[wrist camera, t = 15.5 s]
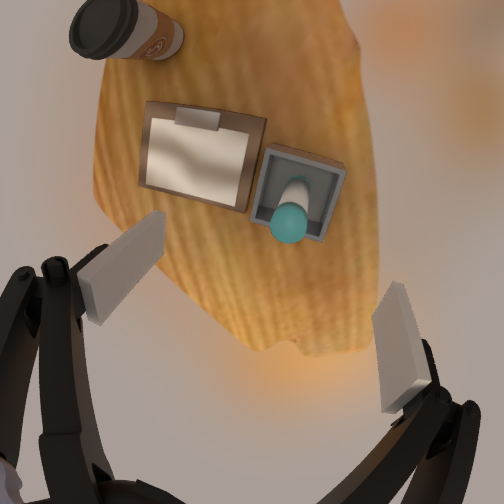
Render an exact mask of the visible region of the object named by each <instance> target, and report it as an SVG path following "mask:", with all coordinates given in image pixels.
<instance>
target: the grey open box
mask: <svg viewBox="0 0 504 504" xmlns="http://www.w3.org/2000/svg"><path fill="white" fill-rule="evenodd" d="M346 172H347V171H346V169H345V167H344V165H343V163H341V162H338V161H335V160H332V159H328V158H325V157H322V156H319V155H315V154H312V153H309V152H305V151H302V150H298V149H294V148H291V147H287V146H283V145H279V144H275V143H272V144H270V145H269V146H268V147H266V149H265V153H264V158H263V162H262V167H261V171H260V175H259V180H258V184H257V189H256V193H255V198H254V202H253V207H252V211H251V216H250V220H249V221H250V222H254V223H257V224H261V225H264V226H267V227H270V221H271V218H272V216H273V214H274V211H275V209H276V208H277V207H278V205H279V202H280V200H281V197H282V195H283V192H284V190H285V188H286V184H287V182H288V180H289V179H290V178H291V177H292V176H295V175H301V176H304V177H306V178H307V179H308V181H309V182H310V186H311V188H310V194H309V203H308V212H307V216H308V221H307V230H306V233H305V235H304V237H305V238H308V239H311V240H315V241H318V242H321V243H322V242H323V239H324V237H325V234H326V231H327V228H328V226H329V223H330V220H331V217H332V214H333V211H334V208H335V205H336V202H337V199H338V196H339V193H340V190H341V187H342V184H343V181H344V178H345V175H346Z"/></svg>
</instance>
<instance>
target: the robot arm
mask: <svg viewBox="0 0 504 504" xmlns="http://www.w3.org/2000/svg"><path fill="white" fill-rule="evenodd" d="M165 222H166V213H164V212H160V211H156V210H154V211H152V212H151V213H150V214H148V215H147V216H146V217H144V218H143V219H142V220H141V221H139V222H138V223H137V224H135V225H134V226H133V227H131V228H130V229H129V230H128V231H126V232H125V233H124V234H123V235H121V236H120V237H119V238H118V239H116V240H115V241H114V242H113V243H112V244H110V245H108V244H103V245H101V246H98V247H96V248H95V249H94V250H92V251H91V252H90V254H87V255H86V256H85V257H84V258H83V259H81V260H80V261H79V262H78V263H77V264H76V265H74V266H73V267H72V268H71V269H70V270H69V265H68V261H67V259H66V258H64V257H61V256H55V257H51V258H49V259H47V260H45V261H44V262H43V263H42V265H41V270H42V273H43V277H37V276H36V274H35V271H34V269H33V268H32V267H29V266H23V267H20V268H19V269H17V270H16V271H15V272H14V273H13V275H12V276H11V278H10V280H9V282H8V283H7V285H6V287H5V289H4V291H3V293H2V295H1V297H0V504H185V503H184V502H182V501H181V500H179V499H177V498H176V497H174V496H173V495H171V494H170V493H168V492H166V491H164V490H162V489H159V488H157V487H154V486H152V485H149V484H147V483H145V482H143V481H140V480H138V479H137V481H136V482H135V481H128V480H115V478H114V475H113V472H112V470H111V467H110V464H109V462H108V460H107V458H106V456H105V454H104V451H103V447H102V444H101V440H100V436H99V432H98V428H97V424H96V420H95V414H94V410H93V404H92V399H91V393H90V388H89V381H88V375H87V367H86V358H85V348H84V337H83V322H82V318H81V316H82V315H83V314H84V312H85V311H86V314H87V317H88V320H89V321H91V322H93V323H95V324H97V325H99V326H101V325H102V324H103V323H104V321H105V320H106V319H107V318H108V317H109V315H110V314H111V313H112V312H113V311H114V309H115V308H116V307H117V306H118V305H119V304H120V303H121V301H122V300H123V299H124V298H125V297H126V296H127V294H128V293H129V292H130V291H131V290H132V289H133V288H134V286H135V285H136V284H137V283H138V282H139V281H140V279H141V278H142V277H143V276H144V275H145V274H146V273H147V272H148V270H150V269H151V267H152V266H153V265H154V264H155V263H156V262H157V261H158V260H159V259H160V258H161V257H162V255H163V254H164V240H165ZM372 322H373V328H374V336H375V343H376V351H377V359H378V370H379V380H380V392H381V408H382V413H390V414H396V413H397V412H398V411H399V410H400V409H402V408H403V415H402V416H401V417H400V418H398V419H397V420H396V421H395V422H393V423H392V424H391V426H392V428H391V429H390V430H389V431H388V433H387V434H386V435H385V436H384V437H383V439H382V440H381V441H380V442H379V443H378V444H377V445H376V447H375V448H374V449H373V450H372V451H371V452H370V453H369V454H368V455H367V457H366V458H365V459H364V460H363V461H362V462H361V463H360V464H359V465H358V466H357V467H356V468H355V469H354V470H353V471H352V472H351V473H350V474H349V475H348V476H347V477H346V478H345V479H344V480H343V481H342V482H341V483H340V484H338V485H337V486H336V487H335V488H334V489H333V490H332V491H331V492H330V493H329V494H327V495H326V496H325V497H324V498H323V499H321V500H320V501H319V502H318V503H317V504H389V502H390V501H391V500H392V499H393V497H394V496H395V495H396V494H397V492H398V491H399V490H400V489H401V487H402V486H403V485H404V483H405V482H406V481H407V479H408V478H409V476H410V475H411V474H412V472H413V471H414V469H415V468H416V466H417V468H416V470H415V473H414V475H413V478H412V480H411V482H410V485H409V487H408V489H407V491H406V493H405V495H404V497H403V500H402V502H401V504H462V502H463V499H464V496H465V493H466V489H467V486H468V482H469V478H470V474H471V471H472V466H473V462H474V457H475V452H476V447H477V441H478V435H479V428H480V420H481V411H480V408H479V406H478V405H477V404H476V403H475V402H474V401H472V400H467V402H465V403H464V404H463V405H459V404H457V403H455V402H453V401H452V398H451V395H450V393H449V392H448V390H447V389H445V388H444V387H442V386H440V382H439V377H438V373H437V370H436V365H435V364H434V363H435V362H434V358H433V354H432V351H431V347H430V346H429V344H428V343H427V341H426V340H425V339H421V337H420V333H419V330H418V326H417V323H416V320H415V317H414V313H413V311H412V307H411V304H410V301H409V298H408V295H407V292H406V289H405V287H404V284H401V283H397V282H394V281H393V282H392V283H391V285H390V287H389V289H388V290H387V292H386V294H385V295H384V297H383V299H382V301H381V302H380V304H379V306H378V307H377V309H376V310H375V312H374V314H373V315H372ZM38 347H39V385H40V386H39V388H40V403H41V414H42V424H43V433H42V434H41V435H40V436H39V450H40V456H41V461H42V466H43V471H44V475H45V480H46V484H47V487H48V491H49V495H50V498H48V499H43V500H39V501H34V502H29V503H24V502H23V500H22V498H21V496H20V492H19V490H20V489H21V488H22V481H21V479H20V478H19V476H18V474H17V472H16V470H15V469H16V466H17V462H18V457H19V451H20V442H21V433H22V424H23V416H24V410H25V404H26V398H27V393H28V388H29V383H30V378H31V374H32V370H33V366H34V362H35V358H36V354H37V350H38Z"/></svg>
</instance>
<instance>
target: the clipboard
mask: <svg viewBox="0 0 504 504" xmlns="http://www.w3.org/2000/svg"><path fill="white" fill-rule="evenodd" d="M266 121H267V119H265V118H261V117H256V116H251V115H246V114H241V113H236V112H231V111H225V110H219V109H213V108H206V107H199V106H192V105H184V104H175V103H165V102H154V101H146V106H145V114H144V122H143V131H142V141H141V152H140V165H139V182H138V186H140V187H144V188H148V189H153V190H157V191H161V192H165V193H169V194H173V195H177V196H180V197H184V198H188V199H192V200H196V201H200V202H204V203H207V204H211V205H215V206H218V207H222V208H226V209H230V210H233V211H237V212H240V213H244V214H245V212H246V211H247V206H248V202H249V197H250V193H251V188H252V183H253V179H254V174H255V170H256V165H257V161H258V156H259V152H260V147H261V143H262V138H263V134H264V129H265V125H266Z"/></svg>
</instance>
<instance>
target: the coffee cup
mask: <svg viewBox="0 0 504 504" xmlns="http://www.w3.org/2000/svg"><path fill="white" fill-rule="evenodd" d="M183 35H184V34H183V29H182V28H181V26H180V25H179V24H178V23H177V22H175V21H174V20H172V19H171V18H169V17H168V16H167V15H165V14H164V13H162V12H160V11H159V10H157V9H155V8H153V7H152V6H150V5H147V4H145V3H143V2H141V1H139V0H87V1H86V2H85V3H84V4H83V5H82V6H81V8H80V9H79V10H78V12H77V13H76V15H75V17H74V19H73V21H72V23H71V26H70V31H69V43H70V45H71V48H72V49H73V50H74V52H76V53H78V54H79V55H80V56H82V57H84V58H90V59H92V60H101V59H105V58H121V59H142V60H148V59H150V60H163V59H166V58H168V57H170V56H171V55H173V54H175V53H176V52H177V51H178V50H179V48H180V46H181V45H182V42H183V37H184V36H183Z"/></svg>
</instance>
